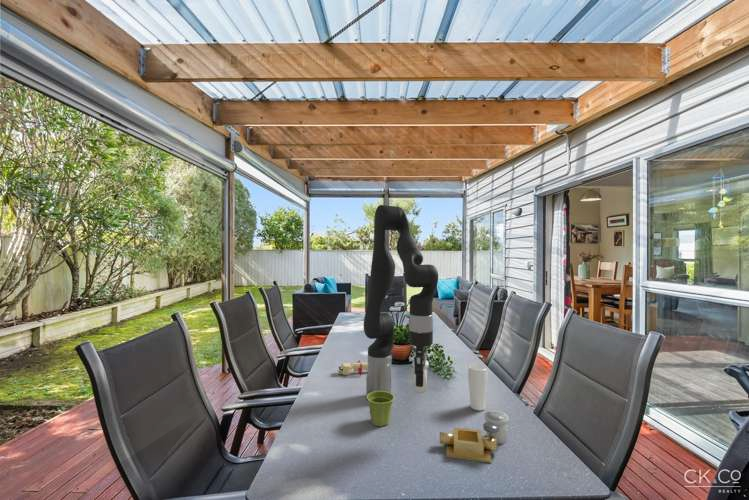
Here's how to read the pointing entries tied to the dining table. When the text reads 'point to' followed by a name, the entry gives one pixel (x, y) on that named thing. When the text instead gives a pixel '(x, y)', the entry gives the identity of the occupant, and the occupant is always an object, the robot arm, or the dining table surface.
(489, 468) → the dining table surface
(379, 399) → the plant pot
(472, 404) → the white tall cylinder
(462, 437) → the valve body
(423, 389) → the white mushroom shaped knob
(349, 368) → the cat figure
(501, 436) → the cylinder
